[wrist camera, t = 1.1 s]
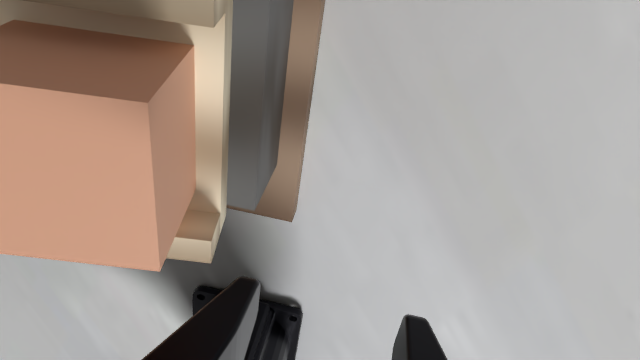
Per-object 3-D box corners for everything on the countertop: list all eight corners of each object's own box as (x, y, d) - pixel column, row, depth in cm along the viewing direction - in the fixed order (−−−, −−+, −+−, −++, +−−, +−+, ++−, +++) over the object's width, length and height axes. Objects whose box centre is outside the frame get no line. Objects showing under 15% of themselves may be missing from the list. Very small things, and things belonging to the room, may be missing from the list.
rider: (195, 188, 16) (159, 271, 13) (47, 169, 16) (-30, 250, 12) (194, 45, 13) (147, 102, 10) (13, 19, 13) (-99, 70, 10)
